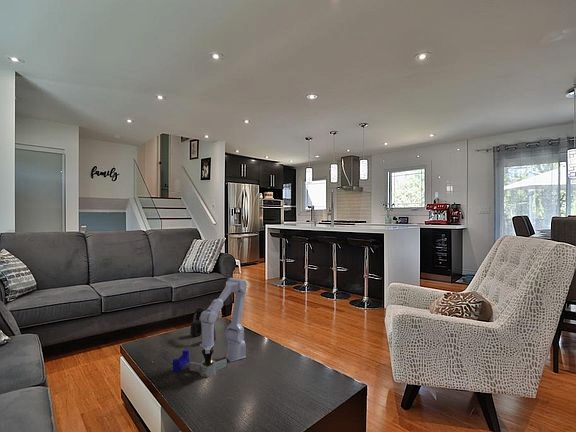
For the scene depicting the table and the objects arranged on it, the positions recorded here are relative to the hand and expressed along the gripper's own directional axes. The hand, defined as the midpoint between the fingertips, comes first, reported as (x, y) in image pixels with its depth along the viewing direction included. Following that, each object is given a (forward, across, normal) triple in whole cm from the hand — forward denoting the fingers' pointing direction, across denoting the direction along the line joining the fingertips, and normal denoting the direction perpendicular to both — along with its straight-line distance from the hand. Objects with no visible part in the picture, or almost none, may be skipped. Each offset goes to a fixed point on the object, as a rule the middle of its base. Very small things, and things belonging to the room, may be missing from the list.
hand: (208, 361), depth 156 cm
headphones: (+6, -46, -5) cm, 47 cm away
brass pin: (+2, 0, 0) cm, 2 cm away
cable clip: (+6, -11, -15) cm, 20 cm away
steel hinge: (+6, -3, +1) cm, 6 cm away
